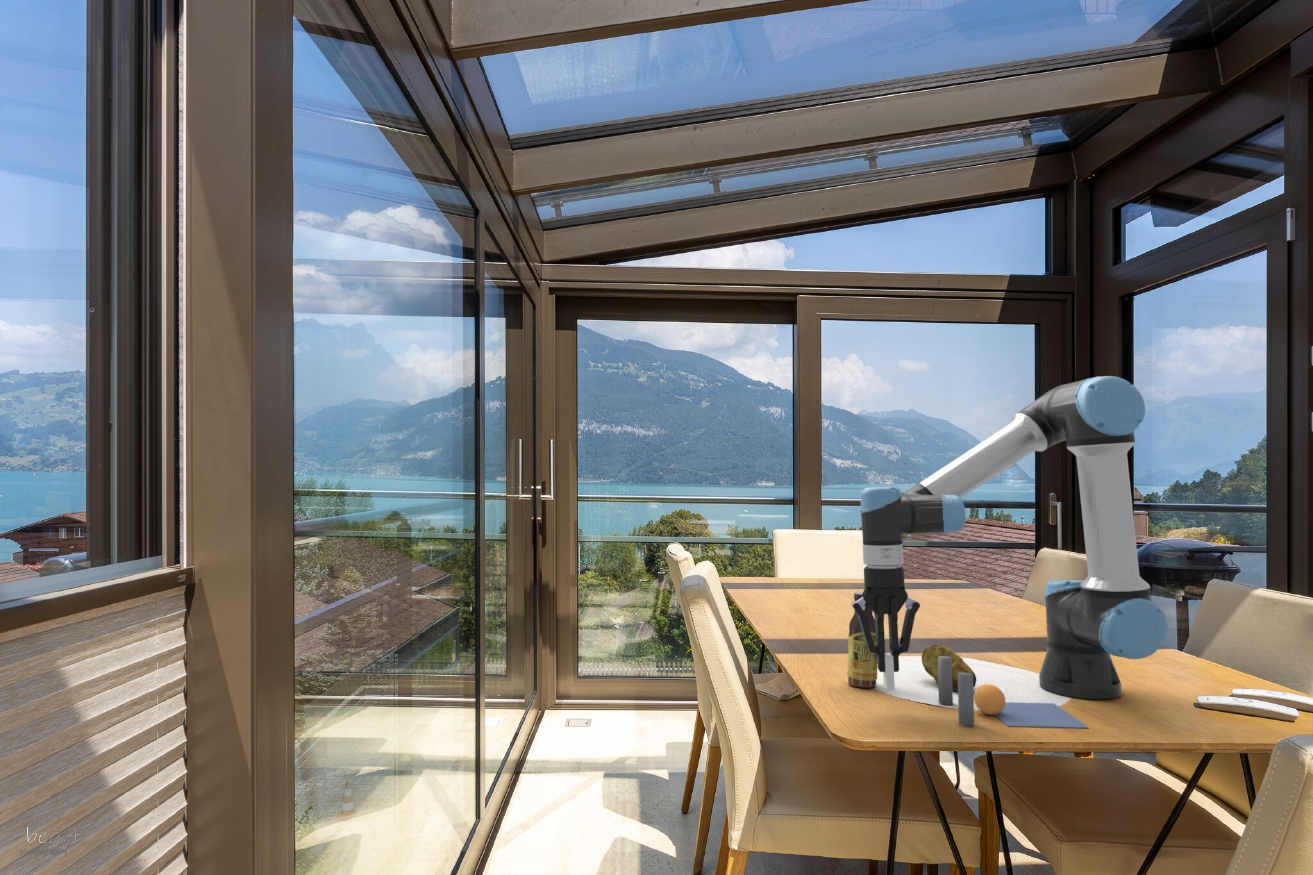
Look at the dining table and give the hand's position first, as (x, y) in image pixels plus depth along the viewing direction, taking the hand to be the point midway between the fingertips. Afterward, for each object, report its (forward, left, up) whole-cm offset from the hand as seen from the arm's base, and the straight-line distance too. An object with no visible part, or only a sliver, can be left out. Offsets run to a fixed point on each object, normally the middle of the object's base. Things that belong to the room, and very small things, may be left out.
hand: (889, 688), depth 142 cm
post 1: (-12, -6, -4) cm, 14 cm away
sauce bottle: (+2, -18, -5) cm, 19 cm away
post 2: (-12, +6, -4) cm, 15 cm away
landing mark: (-26, 0, -4) cm, 27 cm away
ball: (-19, 0, -2) cm, 19 cm away
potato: (-16, -19, -5) cm, 25 cm away
